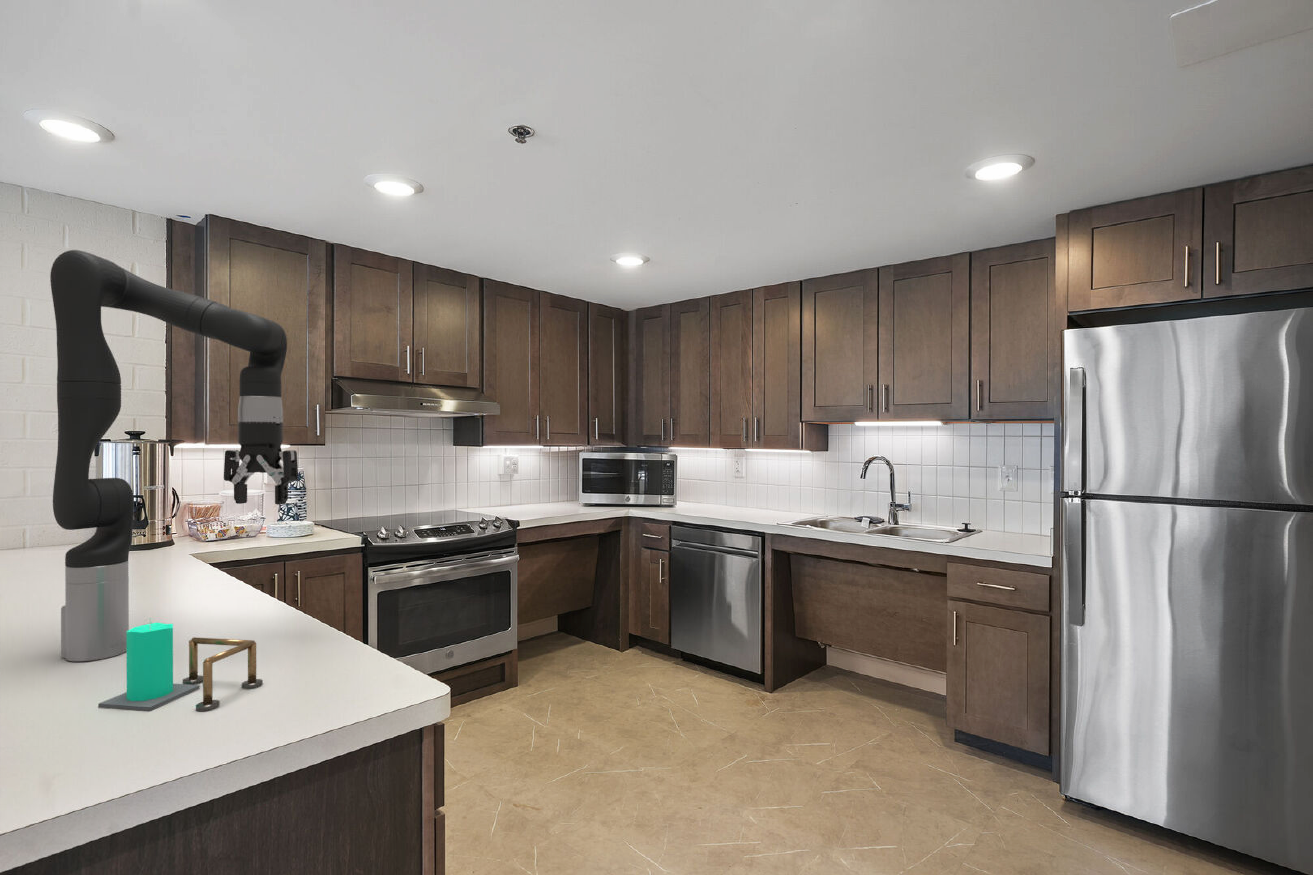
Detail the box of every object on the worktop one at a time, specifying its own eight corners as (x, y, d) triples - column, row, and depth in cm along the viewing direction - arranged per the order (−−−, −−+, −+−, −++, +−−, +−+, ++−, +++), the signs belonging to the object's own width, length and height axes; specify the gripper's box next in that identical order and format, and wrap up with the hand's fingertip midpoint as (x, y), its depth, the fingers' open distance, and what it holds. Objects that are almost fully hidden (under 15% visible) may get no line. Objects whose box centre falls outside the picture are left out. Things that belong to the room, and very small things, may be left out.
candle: (149, 702, 103) (148, 623, 103) (115, 699, 104) (115, 621, 104) (183, 687, 108) (183, 613, 108) (151, 685, 110) (151, 611, 110)
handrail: (127, 706, 103) (127, 657, 103) (193, 678, 114) (192, 634, 114) (208, 712, 100) (208, 661, 100) (266, 682, 112) (266, 638, 112)
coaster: (98, 707, 102) (98, 703, 102) (151, 685, 111) (151, 682, 111) (150, 711, 101) (149, 707, 101) (199, 688, 110) (199, 685, 110)
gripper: (212, 420, 128) (213, 505, 128) (279, 419, 126) (280, 506, 126) (243, 421, 135) (243, 501, 135) (306, 420, 133) (307, 502, 133)
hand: (261, 503), depth 131 cm, fingers open, 8 cm apart
